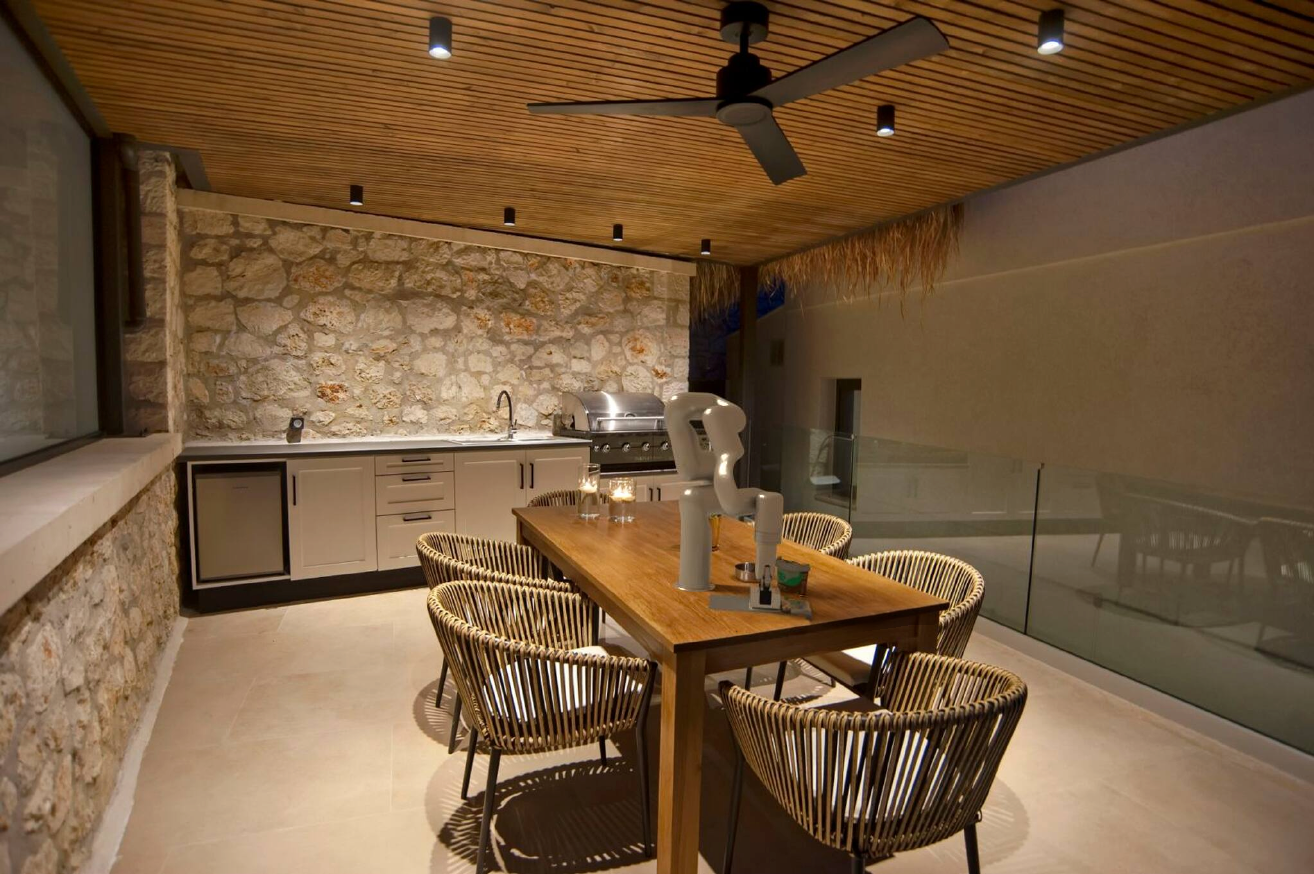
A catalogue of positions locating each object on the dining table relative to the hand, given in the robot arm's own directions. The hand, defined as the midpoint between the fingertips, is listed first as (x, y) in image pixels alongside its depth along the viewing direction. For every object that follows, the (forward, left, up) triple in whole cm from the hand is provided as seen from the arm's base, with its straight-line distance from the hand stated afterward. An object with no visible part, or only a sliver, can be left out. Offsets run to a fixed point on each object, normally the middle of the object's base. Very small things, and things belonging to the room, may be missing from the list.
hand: (764, 600), depth 196 cm
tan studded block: (0, 0, -1) cm, 1 cm away
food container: (-19, +8, -3) cm, 21 cm away
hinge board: (-2, -1, -3) cm, 4 cm away
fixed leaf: (0, +9, -2) cm, 9 cm away
